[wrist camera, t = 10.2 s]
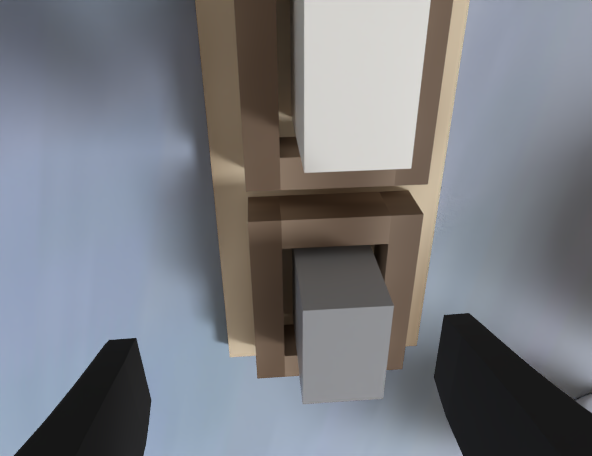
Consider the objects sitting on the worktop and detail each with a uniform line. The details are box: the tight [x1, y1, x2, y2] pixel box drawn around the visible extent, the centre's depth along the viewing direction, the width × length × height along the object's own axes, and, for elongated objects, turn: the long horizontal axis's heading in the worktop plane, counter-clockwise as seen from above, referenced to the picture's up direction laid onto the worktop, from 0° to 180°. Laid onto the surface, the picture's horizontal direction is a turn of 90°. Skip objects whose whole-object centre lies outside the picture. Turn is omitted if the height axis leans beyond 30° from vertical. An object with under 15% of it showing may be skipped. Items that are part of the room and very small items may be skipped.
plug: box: [290, 0, 431, 173], centre depth 15 cm, size 3×4×5 cm
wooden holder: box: [195, 0, 470, 378], centre depth 19 cm, size 9×18×3 cm, turn 0°
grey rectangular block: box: [292, 245, 394, 404], centre depth 20 cm, size 3×4×5 cm
